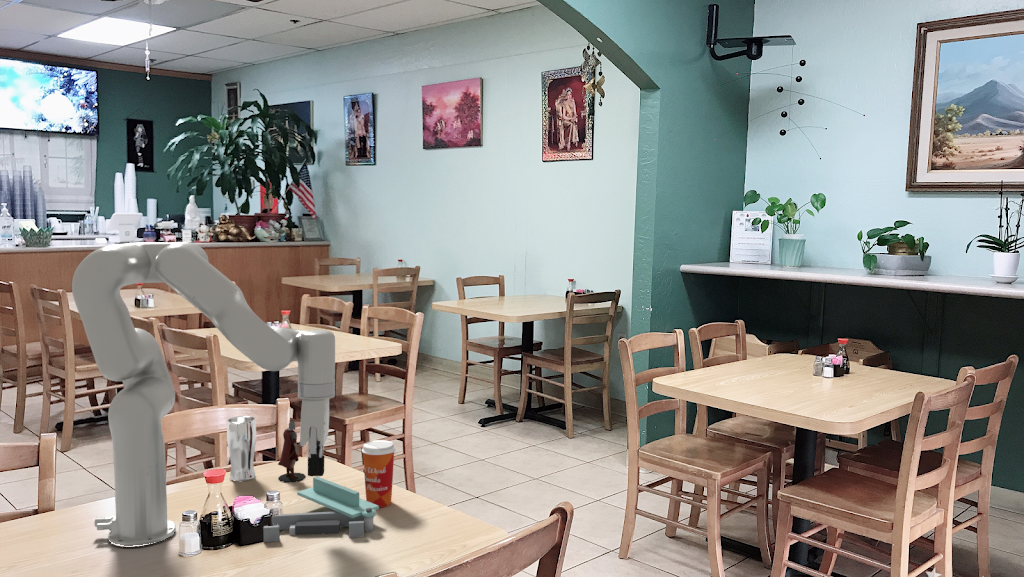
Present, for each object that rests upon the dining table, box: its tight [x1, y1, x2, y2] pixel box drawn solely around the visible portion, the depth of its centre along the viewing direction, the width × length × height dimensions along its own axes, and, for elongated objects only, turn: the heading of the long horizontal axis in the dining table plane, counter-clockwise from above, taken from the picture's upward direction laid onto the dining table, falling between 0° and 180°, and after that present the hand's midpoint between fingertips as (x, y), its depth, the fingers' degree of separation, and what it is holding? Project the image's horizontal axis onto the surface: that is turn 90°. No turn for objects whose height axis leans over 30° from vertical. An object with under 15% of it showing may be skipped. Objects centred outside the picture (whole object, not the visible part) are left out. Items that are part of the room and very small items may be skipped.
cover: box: [296, 476, 380, 518], centre depth 172 cm, size 22×7×4 cm, turn 49°
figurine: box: [277, 419, 306, 483], centre depth 197 cm, size 7×7×15 cm
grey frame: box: [262, 511, 374, 543], centre depth 165 cm, size 22×7×3 cm, turn 99°
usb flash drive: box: [289, 520, 342, 536], centre depth 165 cm, size 10×3×2 cm, turn 96°
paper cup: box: [361, 439, 397, 509], centre depth 181 cm, size 8×8×14 cm
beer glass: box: [226, 415, 257, 482], centre depth 197 cm, size 7×7×15 cm
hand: (316, 474), depth 166 cm, fingers closed
